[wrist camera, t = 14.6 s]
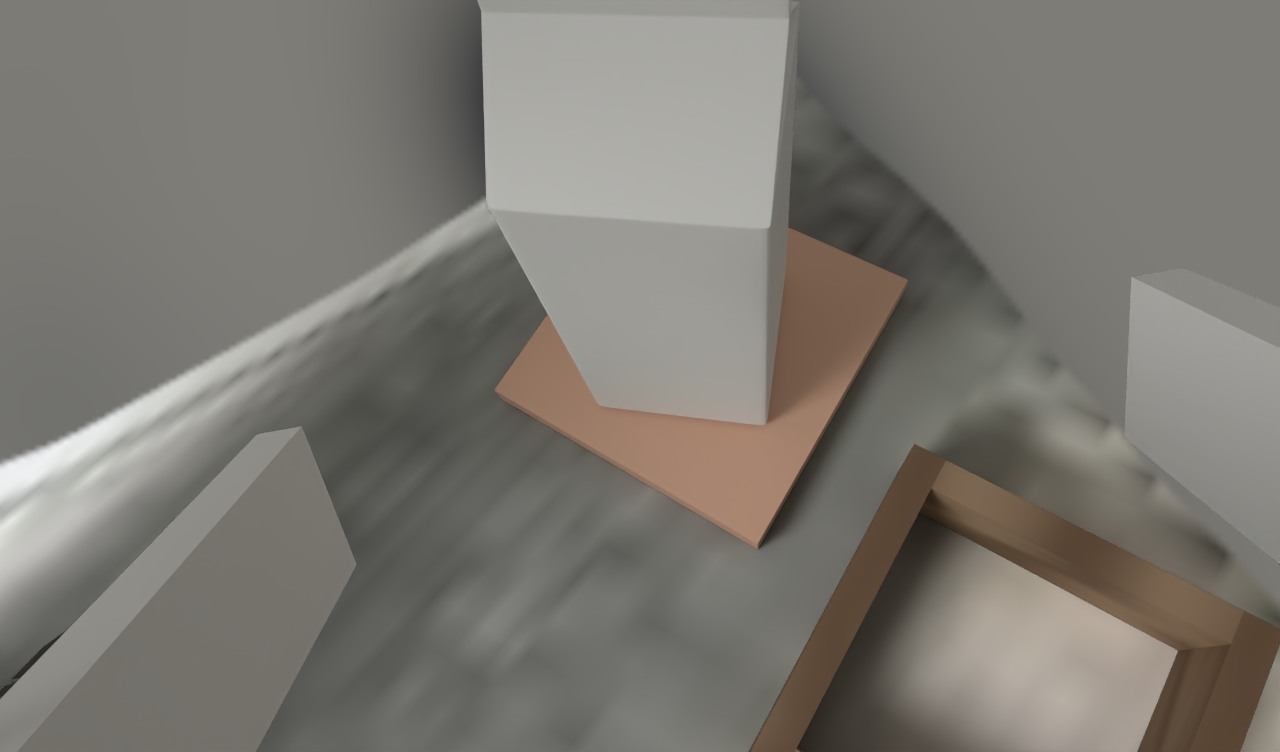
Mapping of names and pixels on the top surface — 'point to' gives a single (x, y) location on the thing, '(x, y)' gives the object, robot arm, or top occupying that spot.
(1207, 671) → the tray
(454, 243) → the top surface
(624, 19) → the milk carton
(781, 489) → the terracotta board
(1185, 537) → the top surface
